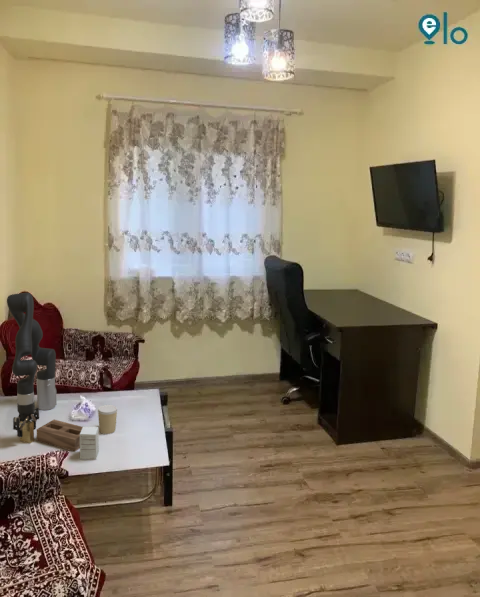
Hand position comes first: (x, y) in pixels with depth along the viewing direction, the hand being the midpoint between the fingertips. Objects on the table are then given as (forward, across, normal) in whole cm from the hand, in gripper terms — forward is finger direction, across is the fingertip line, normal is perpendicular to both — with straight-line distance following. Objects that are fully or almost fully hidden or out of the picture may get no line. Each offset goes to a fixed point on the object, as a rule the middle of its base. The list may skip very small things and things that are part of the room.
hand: (26, 432), depth 247 cm
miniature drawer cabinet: (+4, -2, +34) cm, 34 cm away
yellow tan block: (+4, 0, 0) cm, 4 cm away
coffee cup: (+4, -26, +27) cm, 38 cm away
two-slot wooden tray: (+4, -8, +15) cm, 17 cm away
